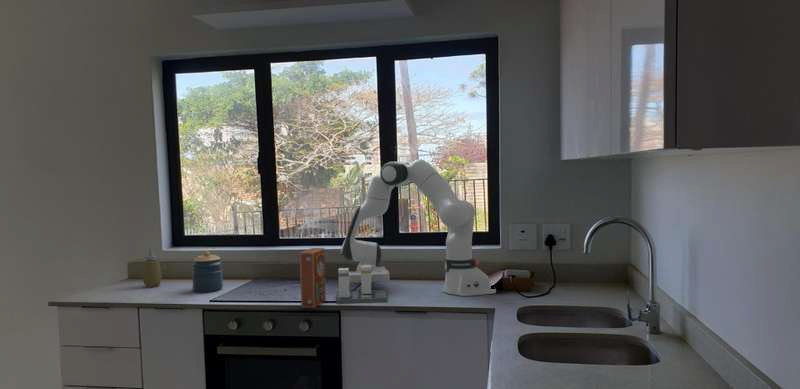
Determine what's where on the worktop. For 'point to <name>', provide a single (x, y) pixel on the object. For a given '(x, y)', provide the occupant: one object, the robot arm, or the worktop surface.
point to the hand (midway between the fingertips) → (366, 280)
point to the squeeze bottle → (152, 271)
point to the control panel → (312, 277)
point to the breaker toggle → (366, 279)
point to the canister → (207, 273)
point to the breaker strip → (355, 296)
